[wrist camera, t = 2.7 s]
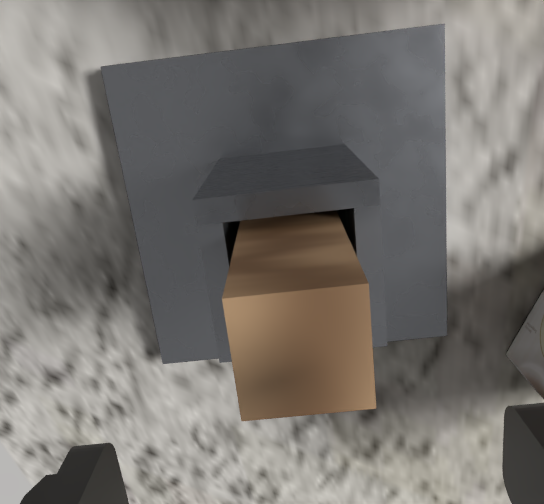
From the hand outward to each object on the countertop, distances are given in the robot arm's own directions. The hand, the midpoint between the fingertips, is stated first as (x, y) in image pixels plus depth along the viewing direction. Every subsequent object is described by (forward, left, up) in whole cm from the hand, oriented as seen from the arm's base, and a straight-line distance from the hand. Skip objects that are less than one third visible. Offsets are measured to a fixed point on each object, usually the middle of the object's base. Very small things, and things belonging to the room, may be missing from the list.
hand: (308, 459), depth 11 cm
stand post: (0, 0, -20) cm, 20 cm away
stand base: (0, 0, -22) cm, 22 cm away
